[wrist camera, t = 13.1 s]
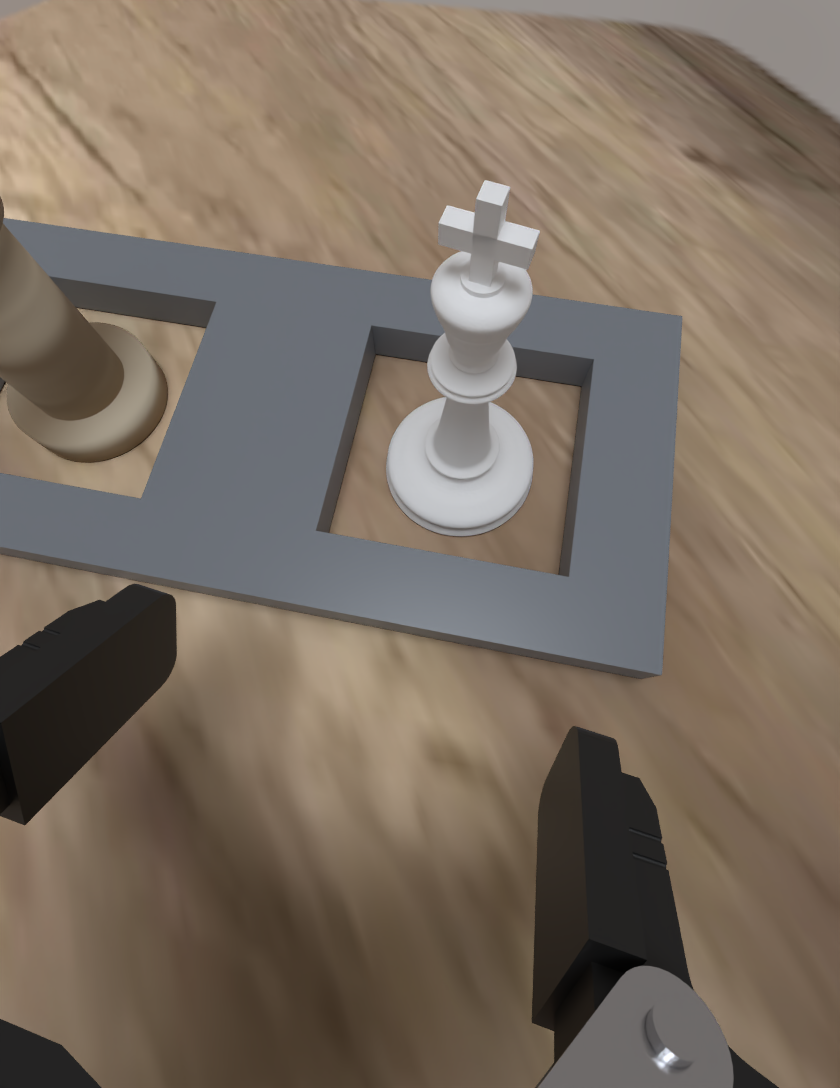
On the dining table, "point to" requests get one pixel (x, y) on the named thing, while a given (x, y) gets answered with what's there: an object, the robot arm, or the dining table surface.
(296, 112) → the dining table surface
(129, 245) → the grey chess piece holder
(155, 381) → the pawn
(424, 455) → the chess piece
